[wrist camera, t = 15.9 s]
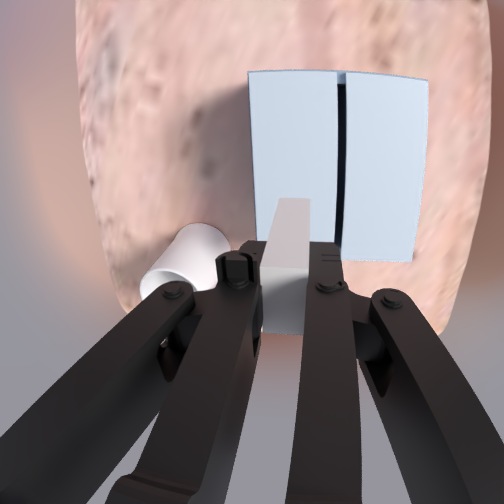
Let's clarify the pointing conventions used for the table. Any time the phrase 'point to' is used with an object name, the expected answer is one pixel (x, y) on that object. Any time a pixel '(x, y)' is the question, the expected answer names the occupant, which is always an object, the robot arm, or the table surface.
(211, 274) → the mug
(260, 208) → the flap left
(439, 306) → the table surface
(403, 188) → the flap right
